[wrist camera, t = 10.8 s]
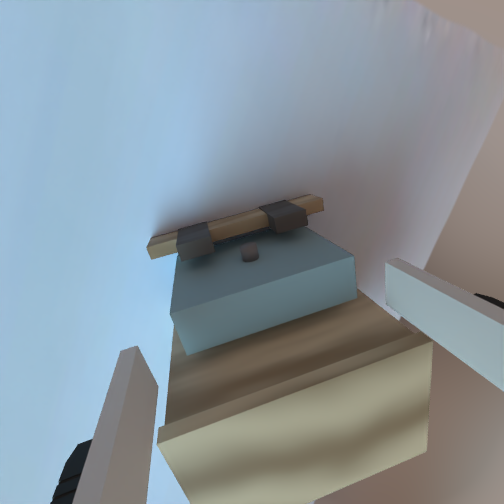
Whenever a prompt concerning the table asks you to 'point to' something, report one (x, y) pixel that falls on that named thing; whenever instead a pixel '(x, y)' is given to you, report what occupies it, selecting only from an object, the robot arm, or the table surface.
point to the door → (258, 285)
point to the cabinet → (291, 390)
